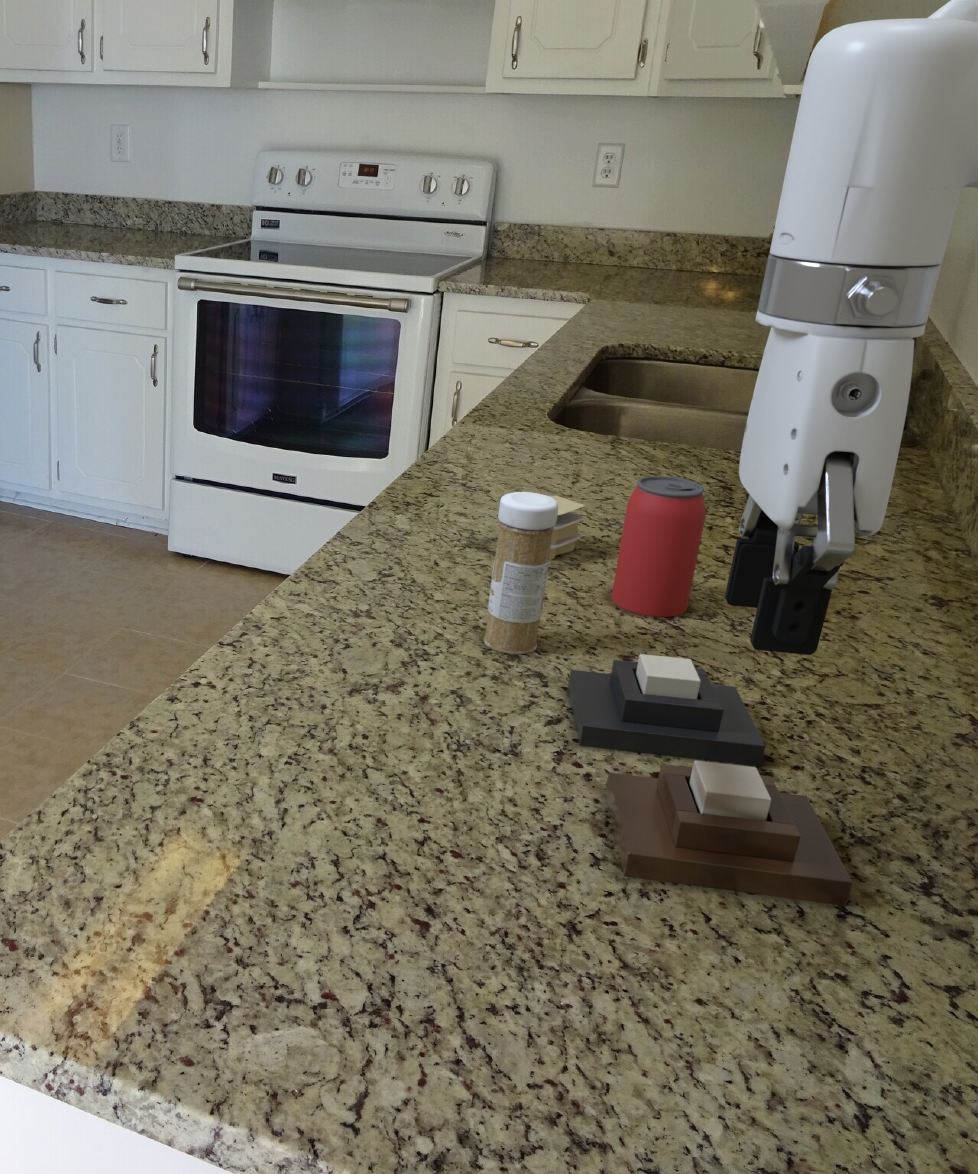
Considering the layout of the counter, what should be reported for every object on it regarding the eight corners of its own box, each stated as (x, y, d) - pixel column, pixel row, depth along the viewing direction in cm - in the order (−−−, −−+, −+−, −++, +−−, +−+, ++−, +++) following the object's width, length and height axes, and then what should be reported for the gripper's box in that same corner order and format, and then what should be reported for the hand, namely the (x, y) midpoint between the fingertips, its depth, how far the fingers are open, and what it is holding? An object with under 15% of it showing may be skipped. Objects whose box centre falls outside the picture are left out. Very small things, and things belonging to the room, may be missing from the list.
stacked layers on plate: (537, 534, 122) (544, 486, 120) (605, 559, 115) (613, 509, 113) (472, 550, 117) (478, 500, 115) (538, 578, 110) (546, 525, 108)
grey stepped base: (729, 711, 85) (740, 665, 83) (759, 773, 77) (771, 723, 75) (566, 694, 87) (573, 648, 86) (578, 752, 79) (586, 703, 78)
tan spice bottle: (487, 633, 98) (505, 487, 92) (540, 643, 96) (562, 494, 91) (477, 654, 94) (496, 502, 89) (533, 664, 92) (555, 510, 87)
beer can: (693, 625, 100) (719, 498, 95) (617, 620, 101) (639, 493, 96) (676, 597, 106) (700, 476, 101) (604, 592, 107) (624, 472, 102)
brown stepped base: (799, 824, 71) (813, 771, 70) (844, 914, 63) (861, 856, 62) (603, 800, 74) (613, 748, 72) (622, 884, 65) (633, 827, 64)
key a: (750, 791, 68) (756, 766, 68) (765, 824, 65) (772, 799, 64) (688, 783, 69) (693, 759, 68) (700, 816, 66) (706, 791, 65)
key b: (686, 679, 82) (691, 658, 81) (696, 702, 79) (701, 680, 78) (635, 674, 83) (639, 653, 82) (643, 697, 79) (647, 675, 79)
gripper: (1004, 329, 47) (895, 706, 54) (867, 279, 62) (796, 577, 69) (812, 320, 48) (730, 689, 55) (725, 274, 64) (669, 567, 71)
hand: (767, 624), depth 62 cm, fingers open, 5 cm apart
